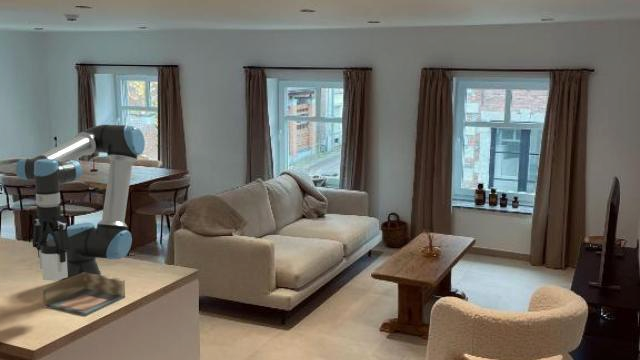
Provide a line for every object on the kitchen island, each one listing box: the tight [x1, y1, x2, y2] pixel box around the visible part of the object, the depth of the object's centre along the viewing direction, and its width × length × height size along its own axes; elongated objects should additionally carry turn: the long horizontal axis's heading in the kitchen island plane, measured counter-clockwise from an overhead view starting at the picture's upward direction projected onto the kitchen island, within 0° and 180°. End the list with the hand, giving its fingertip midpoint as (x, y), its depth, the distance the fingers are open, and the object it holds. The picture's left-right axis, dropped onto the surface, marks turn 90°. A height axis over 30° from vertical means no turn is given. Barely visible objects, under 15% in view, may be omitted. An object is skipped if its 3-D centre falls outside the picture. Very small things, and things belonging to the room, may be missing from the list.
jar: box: [41, 239, 68, 282], centre depth 218 cm, size 9×8×12 cm
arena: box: [42, 272, 126, 317], centre depth 234 cm, size 20×20×7 cm
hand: (52, 269), depth 219 cm, fingers closed on jar, 7 cm apart
